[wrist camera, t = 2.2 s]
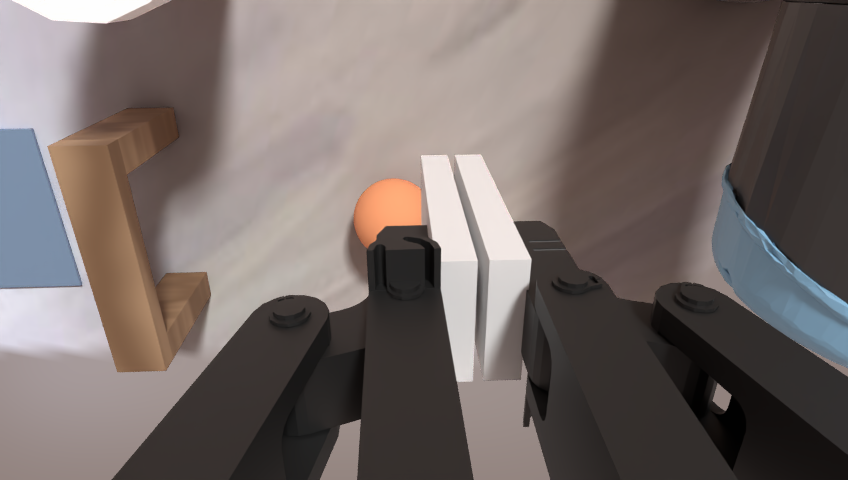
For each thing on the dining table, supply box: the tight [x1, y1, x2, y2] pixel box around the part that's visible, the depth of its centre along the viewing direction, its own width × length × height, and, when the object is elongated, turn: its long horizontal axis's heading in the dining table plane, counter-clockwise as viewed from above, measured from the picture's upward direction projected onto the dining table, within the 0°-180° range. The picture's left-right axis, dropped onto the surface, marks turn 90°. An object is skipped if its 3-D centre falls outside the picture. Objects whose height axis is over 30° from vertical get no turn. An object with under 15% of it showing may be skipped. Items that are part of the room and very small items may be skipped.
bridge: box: [47, 108, 211, 372], centre depth 35 cm, size 3×14×9 cm, turn 0°
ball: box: [354, 179, 421, 249], centre depth 38 cm, size 6×6×6 cm
